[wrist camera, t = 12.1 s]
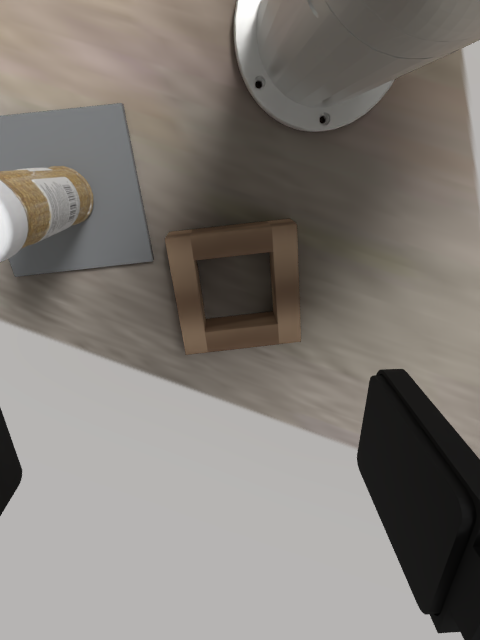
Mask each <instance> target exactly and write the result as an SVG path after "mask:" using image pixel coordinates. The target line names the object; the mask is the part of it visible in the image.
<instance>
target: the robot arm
mask: <svg viewBox="0 0 480 640" xmlns="http://www.w3.org/2000/svg"><path fill="white" fill-rule="evenodd" d="M233 33H234V45H235V54H236V58H237V62H238V66H239V70H240V73H241V75H242V78H243V80H244V82H245V85H246V87H247V89H248V91H249V92H250V94H251V95H252V97H253V98H254V100H255V101H256V103H257V104H258V105H259V106H260V107H261V108H262V109H263V110H264V111H265V112H266V113H267V114H268V115H269V116H271V117H272V118H274V119H275V120H277V121H278V122H280V123H281V124H283V125H286V126H288V127H291V128H293V129H296V130H302V131H308V132H318V131H328V130H332V129H337V128H339V127H342V126H344V125H347V124H350V123H352V122H353V121H355V120H357V119H358V118H360V117H361V116H363V115H365V114H366V113H367V112H368V111H369V110H370V109H372V108H373V107H374V106H375V105H376V104H377V103H378V102H379V101H380V100H381V99H382V97H383V96H384V95H385V94H386V92H387V91H388V90H389V88H390V87H391V85H392V84H393V82H394V80H395V79H396V78H398V77H400V76H402V75H405V74H407V73H409V72H411V71H414V70H416V69H418V68H420V67H422V66H425V65H427V64H429V63H431V62H433V61H436V60H438V59H440V58H442V57H444V56H447V55H449V54H451V53H453V52H455V51H457V50H459V49H461V48H464V47H466V46H468V45H470V44H472V43H474V42H476V41H478V40H480V0H237V2H236V8H235V16H234V31H233ZM257 81H259V82H260V83H261V85H262V86H261V88H260V89H258V88H256V86H255V83H256V82H257ZM321 116H322V117H324V119H325V121H324V123H323V124H322V123H320V121H319V119H320V117H321ZM357 462H358V467H359V470H360V472H361V475H362V477H363V479H364V482H365V484H366V486H367V488H368V491H369V493H370V496H371V498H372V500H373V503H374V505H375V507H376V510H377V512H378V514H379V517H380V519H381V521H382V523H383V526H384V528H385V530H386V533H387V535H388V537H389V540H390V542H391V544H392V546H393V549H394V551H395V553H396V555H397V558H398V560H399V563H400V565H401V567H402V570H403V572H404V574H405V576H406V579H407V581H408V583H409V586H410V588H411V590H412V593H413V595H414V597H415V600H416V602H417V604H418V606H419V608H420V610H421V611H422V612H423V613H424V614H430V616H431V619H432V621H433V623H434V625H435V627H436V630H437V632H438V633H447V632H461V634H462V636H463V638H464V640H480V459H479V458H478V457H477V456H476V454H475V453H474V452H473V451H472V450H471V448H470V447H469V446H468V445H467V444H466V443H465V441H464V440H463V439H462V438H461V437H460V435H459V434H458V433H457V432H456V431H455V429H454V428H453V427H452V426H451V425H450V423H449V422H448V421H447V420H446V419H445V417H444V416H443V415H442V414H441V413H440V411H439V410H438V409H437V408H436V407H435V405H434V404H433V403H432V402H431V401H430V400H429V398H428V397H427V396H426V395H425V394H424V392H423V391H422V390H421V389H420V388H419V386H418V385H417V384H416V383H415V382H414V380H413V379H412V378H411V377H410V376H409V374H408V373H407V372H406V371H405V370H404V369H385V370H379V371H378V372H377V375H376V376H371V378H370V382H369V388H368V394H367V400H366V406H365V412H364V418H363V423H362V429H361V435H360V441H359V447H358V453H357ZM21 478H22V468H21V465H20V462H19V460H18V457H17V454H16V451H15V448H14V446H13V443H12V440H11V437H10V434H9V431H8V428H7V425H6V422H5V420H4V417H3V414H2V411H1V408H0V516H1V514H2V512H3V511H4V509H5V507H6V506H7V504H8V502H9V501H10V499H11V497H12V496H13V494H14V492H15V490H16V489H17V487H18V486H19V484H20V481H21Z"/></svg>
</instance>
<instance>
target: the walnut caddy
mask: <svg viewBox="0 0 480 640" xmlns="http://www.w3.org/2000/svg"><path fill="white" fill-rule="evenodd" d="M165 243H166V248H167V254H168V259H169V265H170V270H171V276H172V281H173V287H174V292H175V298H176V303H177V309H178V314H179V320H180V325H181V331H182V336H183V342H184V347H185V353H186V355H189V354H197V353H206V352H215V351H223V350H232V349H241V348H249V347H258V346H267V345H275V344H284V343H292V342H301V326H300V297H299V269H298V240H297V224H296V223H295V222H294V221H293V220H291V219H290V218H289V219H280V220H271V221H262V222H253V223H244V224H235V225H226V226H217V227H208V228H199V229H190V230H181V231H172V232H169V233H168V234H167V236H166V238H165ZM266 252H269V257H270V272H271V287H272V302H273V311H271V312H262V313H253V314H245V315H236V316H227V317H218V318H210V319H206V317H205V311H204V304H203V297H202V291H201V284H200V277H199V271H198V264H197V260H204V259H213V258H222V257H231V256H240V255H248V254H257V253H266Z"/></svg>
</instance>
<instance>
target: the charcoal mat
mask: <svg viewBox="0 0 480 640" xmlns="http://www.w3.org/2000/svg"><path fill="white" fill-rule="evenodd" d="M52 166H65V167H68V168H71V169H74V170H76V171H77V172H78V173H79V174H80V175H81V176H83V177H84V178H85V180H86V181H87V182H88V184H89V185H90V187H91V190H92V193H93V209H92V211H91V213H90V215H89V216H88V218H87V219H85V220H84V221H83V222H81V223H79V224H76V225H71V226H70V227H69V228H67V229H65V230H63V231H61V232H58V233H56V234H54V235H52V236H50V237H48V238H46V239H44V240H42V241H39V242H37V243H35V244H32V245H28V246H26V247H24V248H21V249H20V250H19V251H18V252H17V253H16V254H15V255H13V256H12V257H10V258H8V259H9V262H10V264H11V267H12V270H13V273H14V275H15V277H17V276H26V275H35V274H44V273H53V272H62V271H71V270H80V269H89V268H97V267H106V266H115V265H124V264H133V263H142V262H151V261H153V260H154V257H153V252H152V247H151V242H150V237H149V232H148V227H147V222H146V217H145V211H144V206H143V201H142V196H141V191H140V186H139V181H138V176H137V171H136V166H135V161H134V156H133V151H132V146H131V141H130V136H129V131H128V126H127V121H126V116H125V111H124V106H123V104H122V103H117V104H108V105H98V106H89V107H80V108H70V109H61V110H51V111H42V112H32V113H23V114H13V115H4V116H0V171H13V170H17V169H27V168H49V167H52Z"/></svg>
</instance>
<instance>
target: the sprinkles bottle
mask: <svg viewBox="0 0 480 640" xmlns="http://www.w3.org/2000/svg"><path fill="white" fill-rule="evenodd" d="M92 209H93V193H92V190H91V187H90V185H89V184H88V182H87V181H86V180H85V178H84V177H83V176H81V175H80V174H79V173H78V172H77V171H76V170H74V169H71V168H68V167H65V166H52V167H49V168H27V169H17V170H13V171H0V262H2V261H4V260H6V259H8V258H10V257H12V256H13V255H15V254H16V253H17V252H18V251H19V250H20V249H21V248H24V247H26V246H28V245H32V244H35V243H37V242H39V241H42V240H44V239H46V238H48V237H50V236H52V235H54V234H56V233H58V232H61V231H63V230H65V229H67V228H69V227H70V226H71V225H76V224H79V223H81V222H83V221H84V220H85V219H87V218H88V216H89V215H90V213H91V211H92Z"/></svg>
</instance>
